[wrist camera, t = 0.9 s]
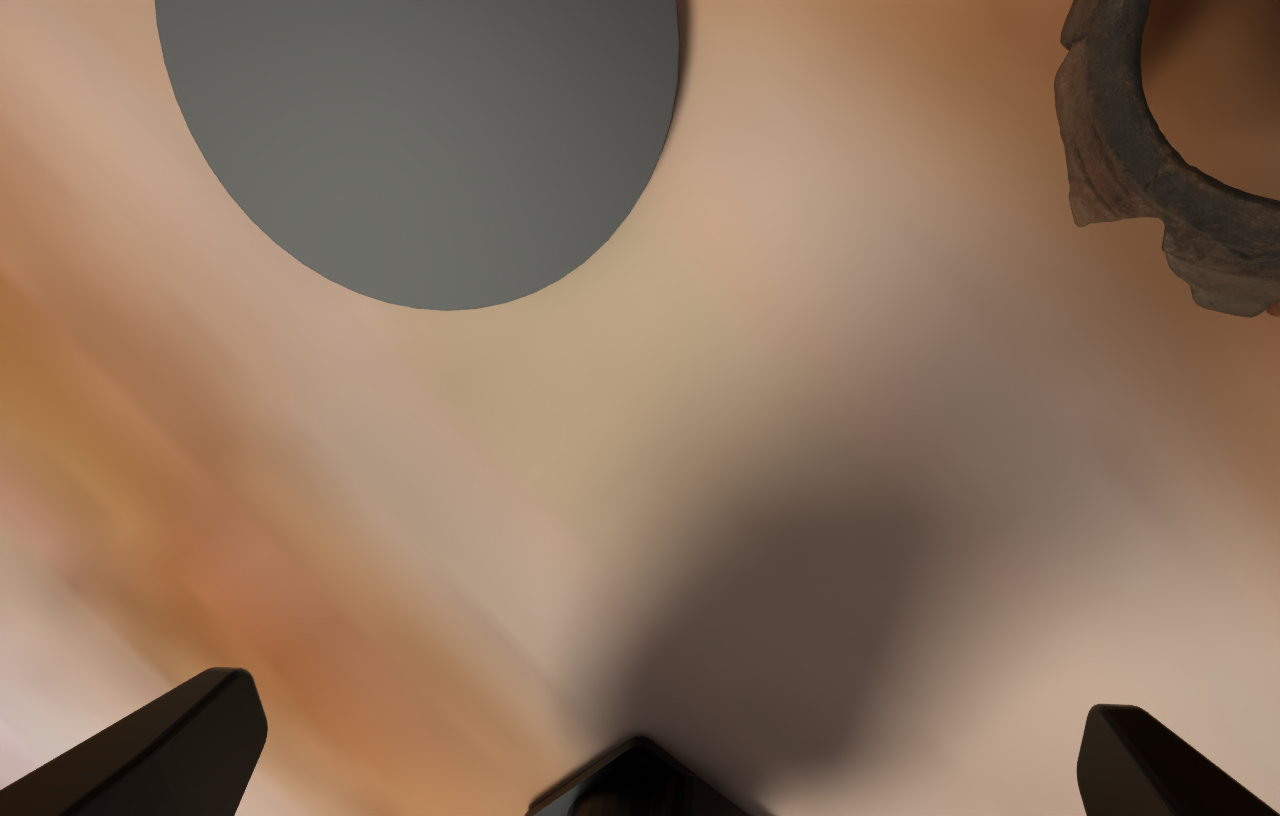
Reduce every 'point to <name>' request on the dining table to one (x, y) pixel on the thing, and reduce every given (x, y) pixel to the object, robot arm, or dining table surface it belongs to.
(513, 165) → the rubber mat
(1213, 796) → the robot arm
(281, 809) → the dining table surface
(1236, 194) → the pottery mug
